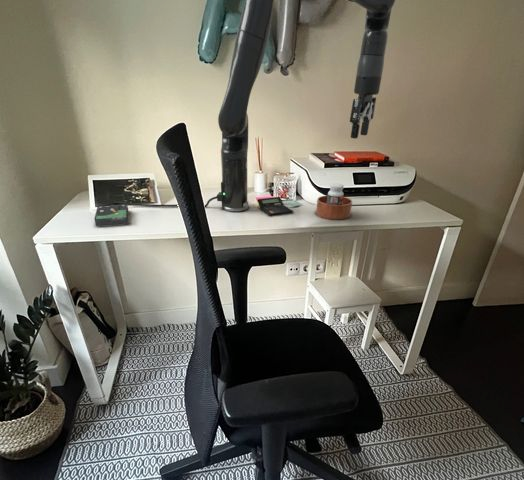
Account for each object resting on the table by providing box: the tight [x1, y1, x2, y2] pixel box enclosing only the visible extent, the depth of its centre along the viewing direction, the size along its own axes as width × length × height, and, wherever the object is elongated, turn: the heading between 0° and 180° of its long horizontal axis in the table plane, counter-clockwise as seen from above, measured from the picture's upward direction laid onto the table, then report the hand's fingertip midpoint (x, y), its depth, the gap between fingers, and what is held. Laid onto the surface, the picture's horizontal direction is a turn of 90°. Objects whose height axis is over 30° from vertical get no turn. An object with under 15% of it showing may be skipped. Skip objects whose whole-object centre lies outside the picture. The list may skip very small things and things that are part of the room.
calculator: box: [257, 196, 294, 217], centre depth 138 cm, size 9×12×3 cm
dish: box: [315, 195, 353, 221], centre depth 135 cm, size 13×13×5 cm
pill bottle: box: [326, 183, 345, 205], centre depth 133 cm, size 6×6×10 cm
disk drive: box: [94, 204, 130, 227], centre depth 126 cm, size 10×3×15 cm
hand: (358, 136), depth 120 cm, fingers open, 8 cm apart
